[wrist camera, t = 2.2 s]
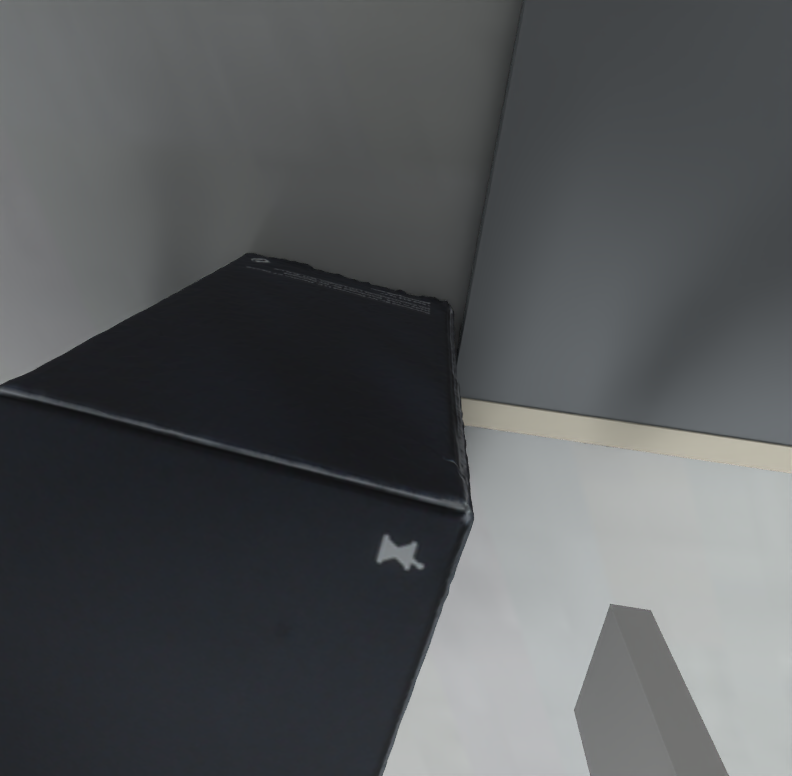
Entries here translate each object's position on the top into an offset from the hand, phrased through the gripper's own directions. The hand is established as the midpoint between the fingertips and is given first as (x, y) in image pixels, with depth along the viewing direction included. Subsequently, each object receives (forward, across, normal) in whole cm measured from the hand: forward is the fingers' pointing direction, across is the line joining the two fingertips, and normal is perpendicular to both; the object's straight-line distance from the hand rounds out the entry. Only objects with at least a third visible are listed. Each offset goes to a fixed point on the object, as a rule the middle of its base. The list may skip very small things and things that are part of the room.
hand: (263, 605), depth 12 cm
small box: (+8, -1, 0) cm, 8 cm away
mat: (+8, +9, +9) cm, 15 cm away
